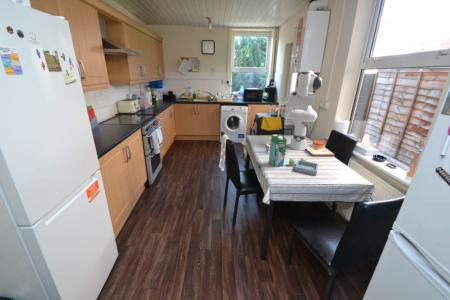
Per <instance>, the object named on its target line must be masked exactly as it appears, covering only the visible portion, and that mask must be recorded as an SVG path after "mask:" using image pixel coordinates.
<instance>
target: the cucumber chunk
mask: <svg viewBox="0 0 450 300" xmlns="http://www.w3.org/2000/svg"><path fill="white" fill-rule="evenodd" d="M288 161H289V162H288V166H289V167H295V165H296V164H295V162H296V159H295V158H289V160H288Z"/></svg>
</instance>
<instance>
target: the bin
mask: <svg viewBox="0 0 450 300" xmlns="http://www.w3.org/2000/svg"><path fill="white" fill-rule="evenodd" d="M318 168H319V163H317V162H311V161H307V160H306V161H302V160H301V159H298V160H297V161H296V164H295V165H294V172H297V173H298V172H299V173H303V174H308V175H312V176H317V173H318Z"/></svg>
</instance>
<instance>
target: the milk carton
mask: <svg viewBox="0 0 450 300" xmlns="http://www.w3.org/2000/svg"><path fill="white" fill-rule="evenodd" d="M270 137H271V139H270V147H269V155H268V164H269V165H270V166H272V167H275V168H276V167H284V162H285V157H286V149H287V143H288V140H287V139H286V137H284V135H283V134H282V133H280V134H275V133H274V134H271V136H270Z"/></svg>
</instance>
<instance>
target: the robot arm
mask: <svg viewBox="0 0 450 300" xmlns="http://www.w3.org/2000/svg"><path fill="white" fill-rule="evenodd" d="M322 85H323V79H322V77H321V76H319V75H318V74H316V73H315V72H314V71H313V70H310V69H309V70H305V71H301V72H300V73H299V76H298V79H296V90H295V91H291V92H290V95H289V96H288V99H287V104H288V105H289V106H291V107H292V109H291V110H290V111H289V113H288V117H289V119H290V120H291V121H292V122H293V125H294V132H293V134H292V135H293V136H292V138H291V140H290V143H289V144H288V147H289V148H291V149H293V150H297V151H303V150H304V151H306V150H305V149H306V148H305V147H306V146H307V140H306V137H307V135H306V134H307V129H308V128H307V127H306V126H305V124H303V123H302V122H307V123H310V122H311V123H313V122H315V121H316V120H317V118H318V113H317V112H316V111H315V110H314V109H313V108H312V107H313V106H314V105H315V99H316V95H315V94H314V93H313V91H314V92H316V91H317V90H319V89H320V88H321V87H322ZM294 106H299V108H300V109H299V108H298V109H296V108H295V107H294Z"/></svg>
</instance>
